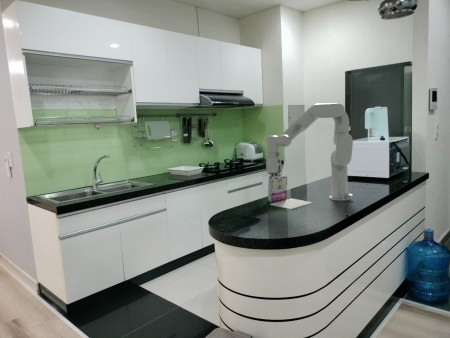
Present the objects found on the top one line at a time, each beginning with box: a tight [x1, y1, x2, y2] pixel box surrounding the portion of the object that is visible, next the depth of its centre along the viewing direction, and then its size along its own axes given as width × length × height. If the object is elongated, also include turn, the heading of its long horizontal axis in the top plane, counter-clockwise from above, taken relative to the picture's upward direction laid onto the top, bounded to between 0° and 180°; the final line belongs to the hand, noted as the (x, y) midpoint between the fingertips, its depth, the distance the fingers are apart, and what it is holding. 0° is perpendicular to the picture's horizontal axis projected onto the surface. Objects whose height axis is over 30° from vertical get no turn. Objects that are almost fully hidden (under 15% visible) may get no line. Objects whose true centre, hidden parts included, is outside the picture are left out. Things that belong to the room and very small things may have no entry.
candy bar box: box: [267, 173, 288, 204], centre depth 216 cm, size 11×5×16 cm, turn 112°
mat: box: [269, 198, 313, 210], centre depth 209 cm, size 17×20×1 cm
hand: (274, 183), depth 219 cm, fingers closed
